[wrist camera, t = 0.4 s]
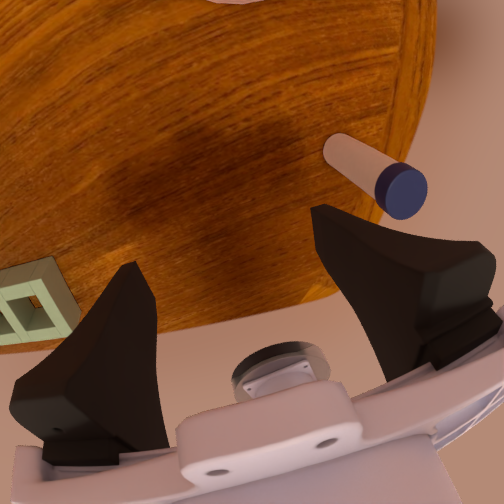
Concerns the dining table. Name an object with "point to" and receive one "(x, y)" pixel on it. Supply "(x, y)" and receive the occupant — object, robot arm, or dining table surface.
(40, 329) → the tube rack
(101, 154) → the dining table surface
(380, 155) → the test tube
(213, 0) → the mug
